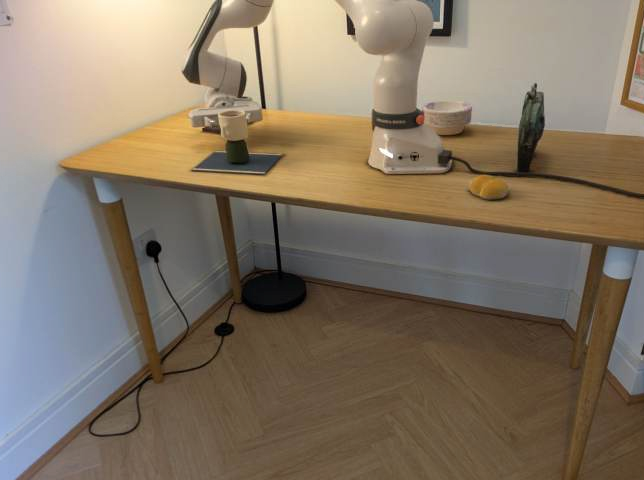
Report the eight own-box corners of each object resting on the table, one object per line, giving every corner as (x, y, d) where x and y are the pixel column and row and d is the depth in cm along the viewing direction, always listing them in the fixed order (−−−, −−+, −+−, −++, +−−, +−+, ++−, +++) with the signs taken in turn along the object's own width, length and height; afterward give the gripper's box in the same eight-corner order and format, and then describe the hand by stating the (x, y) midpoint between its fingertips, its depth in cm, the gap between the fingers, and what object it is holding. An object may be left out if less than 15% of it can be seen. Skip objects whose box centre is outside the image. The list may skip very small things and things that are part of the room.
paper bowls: (420, 124, 182) (421, 99, 178) (467, 124, 181) (469, 99, 177) (422, 138, 169) (423, 112, 165) (472, 138, 169) (475, 112, 164)
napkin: (283, 154, 158) (282, 153, 158) (263, 175, 145) (263, 173, 145) (216, 151, 162) (216, 150, 162) (191, 171, 148) (191, 169, 148)
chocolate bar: (201, 128, 178) (235, 113, 192) (202, 131, 178) (235, 116, 192) (225, 131, 175) (257, 116, 189) (225, 134, 175) (257, 119, 189)
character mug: (236, 154, 159) (229, 107, 152) (259, 156, 157) (253, 108, 150) (216, 167, 150) (208, 118, 143) (240, 169, 148) (233, 120, 141)
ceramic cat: (517, 149, 159) (527, 76, 149) (541, 151, 158) (552, 77, 147) (510, 174, 143) (520, 93, 133) (536, 176, 142) (548, 95, 131)
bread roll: (493, 203, 128) (495, 187, 126) (463, 192, 134) (464, 176, 132) (515, 194, 132) (517, 178, 130) (485, 183, 138) (487, 168, 136)
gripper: (185, 102, 161) (188, 114, 150) (256, 96, 167) (265, 107, 156) (189, 124, 164) (193, 138, 153) (258, 117, 170) (267, 130, 159)
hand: (229, 122), depth 155 cm, fingers open, 8 cm apart
